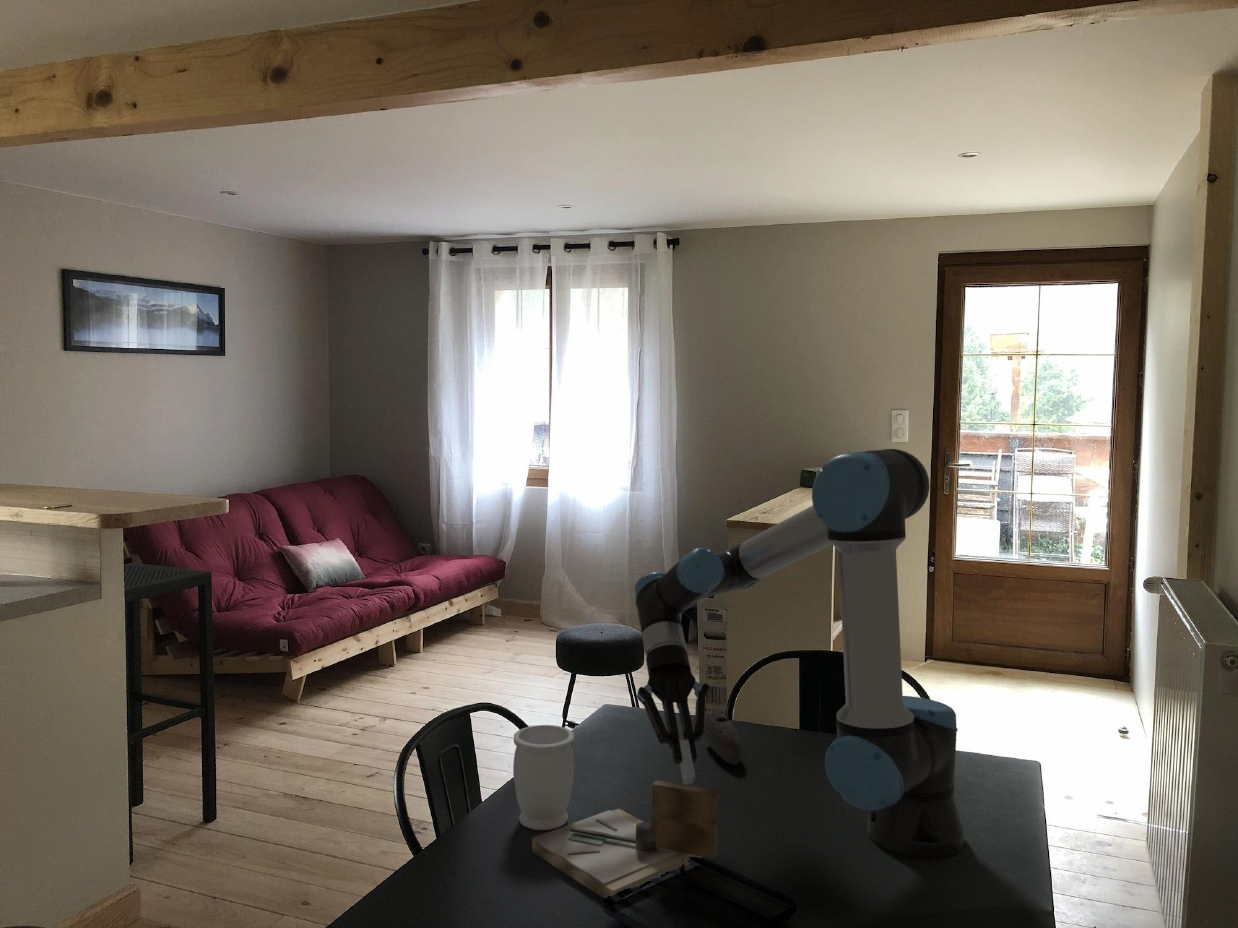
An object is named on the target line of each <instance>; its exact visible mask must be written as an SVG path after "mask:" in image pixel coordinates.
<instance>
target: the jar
mask: <svg viewBox="0 0 1238 928" xmlns="http://www.w3.org/2000/svg"><path fill="white" fill-rule="evenodd" d="M574 741H575V734H574V732H573V731H572V730H571V729H568V728H566V727H564V726H559V725H553V724H552V725H551V724H540V725H539V724H537V725H530V726H528V727H527V726H526V727H523V728H521V729H518V730H517V731H516V732H515V733H514V734H513V743H514V746H516V747H515V751H514V756H513V763H512V765H513V766H512V767H513V768H512V772H513V775H512V776H513V781H514V782H513V783H514V787H515V794H516V799H517V800H516V801H517V804H518V806H519V809H520V811H521V813H520V814H519V816H518V820H519V822H520V824H521V825H522V826H523V827H525V828H528V829H530V830H536V831H552V830H556V829H559V828H561V827H563V825H565V824H566V823H567V822H568V820H569V815H568V813H567V811H566V810H567V808H568V806H569V805H570V800H571V797H572V789H573V783H574V777H575V757H574V752H573V748H572V745H573V744H574Z"/></svg>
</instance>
